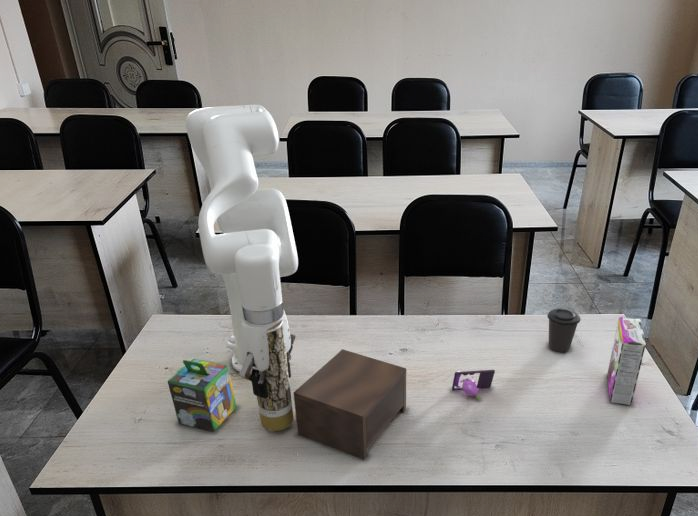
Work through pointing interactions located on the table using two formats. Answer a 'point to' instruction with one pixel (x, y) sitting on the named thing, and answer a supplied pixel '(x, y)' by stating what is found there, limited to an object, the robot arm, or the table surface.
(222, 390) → the chalk box
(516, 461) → the table surface
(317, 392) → the walnut storage box
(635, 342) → the candy bar box
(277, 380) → the paper tube
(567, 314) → the coffee cup
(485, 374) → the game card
